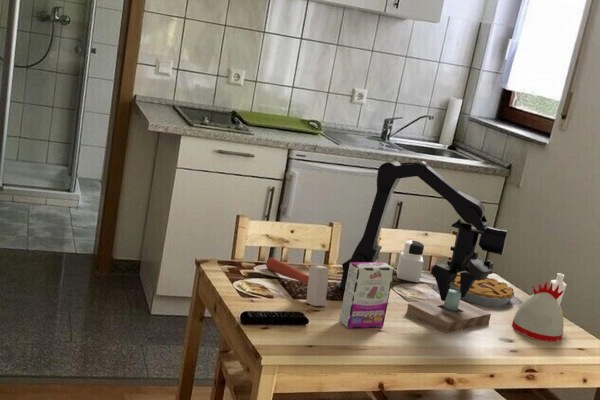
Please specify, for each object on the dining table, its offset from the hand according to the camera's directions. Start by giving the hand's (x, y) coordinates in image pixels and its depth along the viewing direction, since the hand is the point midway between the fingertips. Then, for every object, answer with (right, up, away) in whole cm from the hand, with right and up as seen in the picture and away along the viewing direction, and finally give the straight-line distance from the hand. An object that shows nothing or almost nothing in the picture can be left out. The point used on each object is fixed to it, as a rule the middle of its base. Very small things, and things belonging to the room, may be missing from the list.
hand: (452, 298), depth 213 cm
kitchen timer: (+25, -10, +5) cm, 27 cm away
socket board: (-1, -6, +1) cm, 6 cm away
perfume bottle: (+31, -9, +15) cm, 36 cm away
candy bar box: (-27, -5, -15) cm, 31 cm away
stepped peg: (-1, -6, +1) cm, 6 cm away
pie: (+13, -3, +28) cm, 31 cm away
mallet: (-45, +2, +4) cm, 45 cm away
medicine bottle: (-8, +2, +33) cm, 34 cm away
